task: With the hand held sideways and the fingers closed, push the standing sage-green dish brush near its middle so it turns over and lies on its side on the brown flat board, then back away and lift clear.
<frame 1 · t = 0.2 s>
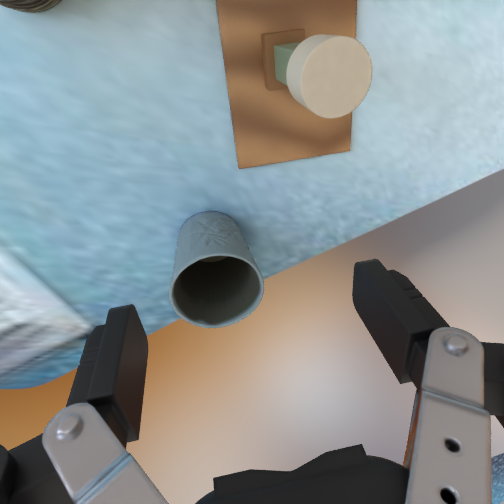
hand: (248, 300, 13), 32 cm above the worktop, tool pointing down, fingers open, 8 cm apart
brown flat board: (290, 68, 38), on the worktop
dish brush: (281, 59, 37), resting on brown flat board
grey cup: (210, 236, 48), on the worktop
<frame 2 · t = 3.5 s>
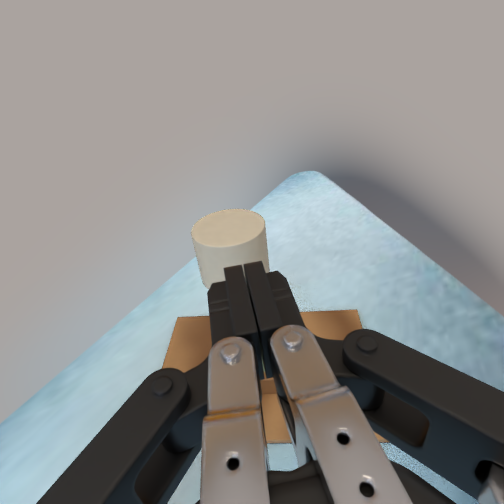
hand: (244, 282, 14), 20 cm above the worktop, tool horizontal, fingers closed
brown flat board: (264, 369, 34), on the worktop
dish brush: (252, 375, 33), resting on brown flat board
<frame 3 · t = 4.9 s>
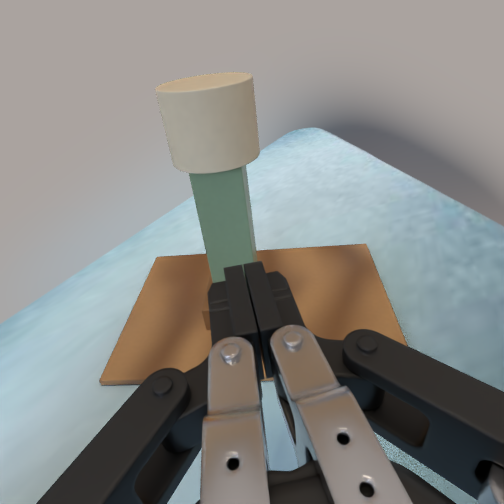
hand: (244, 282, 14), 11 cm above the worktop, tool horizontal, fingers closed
brown flat board: (256, 304, 28), on the worktop
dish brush: (242, 309, 27), resting on brown flat board
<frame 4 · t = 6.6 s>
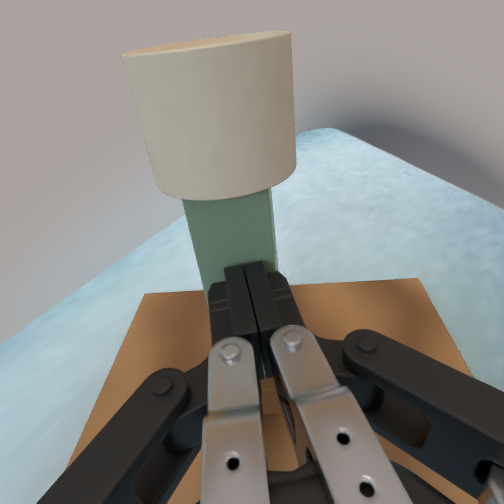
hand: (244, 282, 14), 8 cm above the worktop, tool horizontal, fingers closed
brown flat board: (278, 370, 20), on the worktop
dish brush: (259, 380, 19), point 1 cm above the worktop, touching brown flat board, gripper
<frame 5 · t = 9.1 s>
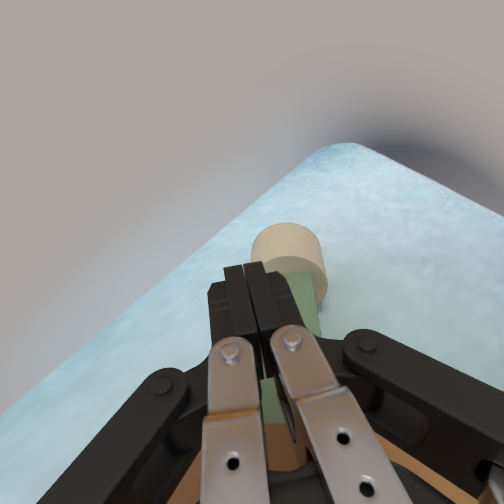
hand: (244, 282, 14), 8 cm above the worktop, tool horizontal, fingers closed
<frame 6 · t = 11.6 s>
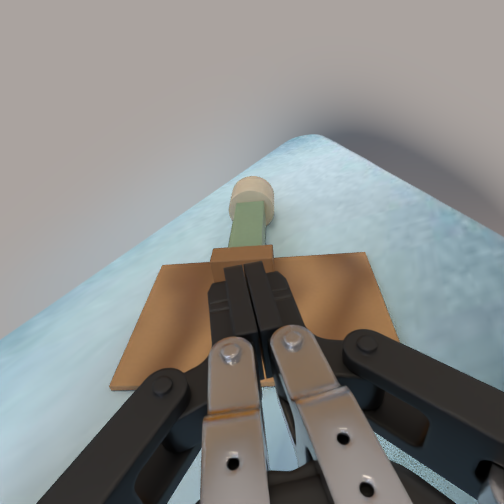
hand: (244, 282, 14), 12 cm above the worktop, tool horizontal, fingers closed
brown flat board: (258, 312, 29), on the worktop
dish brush: (243, 279, 29), point 2 cm above the worktop, tilted 90°, touching brown flat board
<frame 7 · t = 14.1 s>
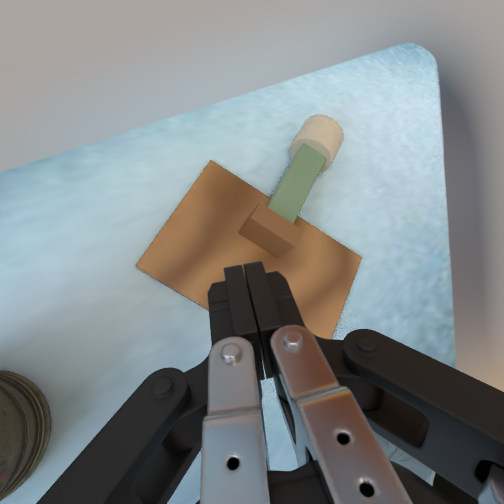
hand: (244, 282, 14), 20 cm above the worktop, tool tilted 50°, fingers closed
brown flat board: (260, 262, 36), on the worktop
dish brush: (265, 239, 34), point 2 cm above the worktop, tilted 90°, touching brown flat board
grey cup: (374, 469, 33), on the worktop
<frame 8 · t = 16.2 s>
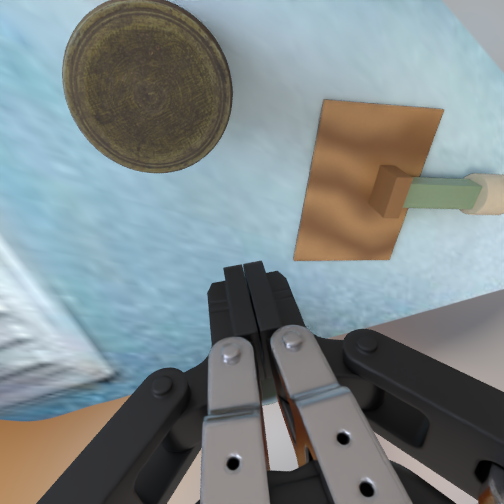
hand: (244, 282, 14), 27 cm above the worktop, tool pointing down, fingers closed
brown flat board: (360, 190, 43), on the worktop
container: (165, 62, 33), on the worktop
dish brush: (381, 191, 41), point 2 cm above the worktop, tilted 90°, touching brown flat board
grey cup: (249, 309, 51), on the worktop
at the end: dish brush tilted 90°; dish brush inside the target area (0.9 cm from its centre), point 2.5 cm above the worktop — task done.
